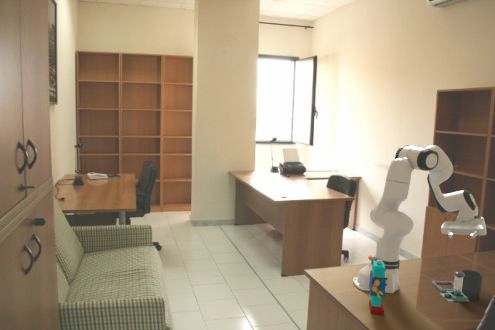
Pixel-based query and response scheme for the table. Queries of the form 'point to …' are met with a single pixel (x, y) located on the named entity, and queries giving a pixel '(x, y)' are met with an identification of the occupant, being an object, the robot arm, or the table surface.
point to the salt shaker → (458, 283)
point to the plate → (451, 297)
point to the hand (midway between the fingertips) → (461, 237)
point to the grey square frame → (442, 283)
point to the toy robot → (377, 287)
